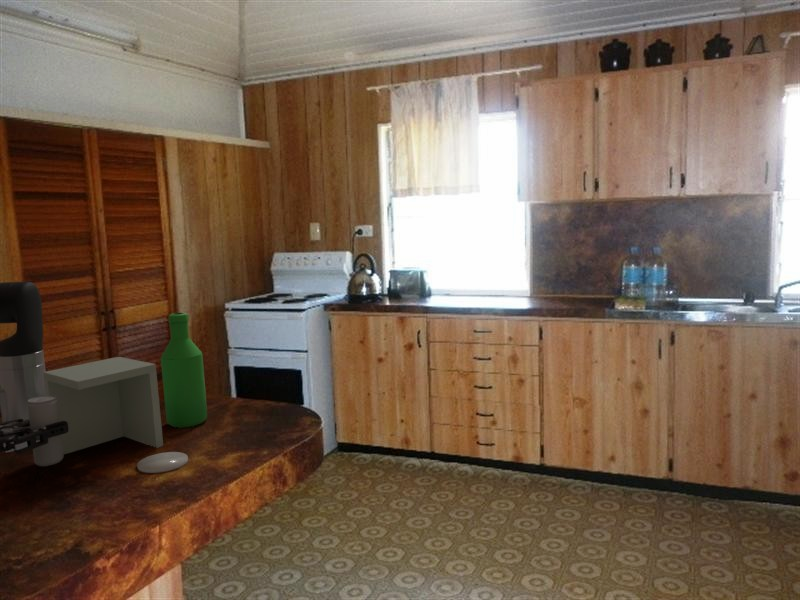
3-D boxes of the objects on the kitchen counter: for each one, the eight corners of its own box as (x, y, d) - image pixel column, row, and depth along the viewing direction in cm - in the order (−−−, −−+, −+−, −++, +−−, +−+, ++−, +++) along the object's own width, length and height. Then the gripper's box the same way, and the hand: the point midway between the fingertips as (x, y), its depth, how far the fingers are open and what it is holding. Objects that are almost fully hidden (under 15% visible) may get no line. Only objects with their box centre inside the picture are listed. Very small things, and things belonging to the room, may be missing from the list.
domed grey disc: (137, 476, 118) (136, 473, 118) (137, 459, 126) (137, 456, 126) (189, 467, 121) (189, 464, 121) (186, 451, 129) (186, 449, 129)
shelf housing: (87, 470, 122) (77, 381, 119) (52, 455, 131) (43, 372, 128) (163, 445, 133) (155, 364, 131) (126, 433, 143) (118, 356, 140)
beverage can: (69, 458, 122) (63, 395, 120) (48, 468, 117) (41, 403, 116) (49, 456, 123) (43, 394, 122) (28, 465, 119) (20, 401, 117)
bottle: (195, 429, 143) (185, 316, 140) (159, 428, 145) (148, 317, 141) (214, 417, 152) (205, 310, 148) (180, 416, 153) (170, 310, 150)
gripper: (-33, 438, 103) (76, 410, 116) (-63, 422, 112) (41, 397, 125) (-27, 483, 104) (80, 450, 117) (-57, 464, 113) (45, 435, 126)
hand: (60, 423), depth 121 cm, fingers closed on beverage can, 4 cm apart
